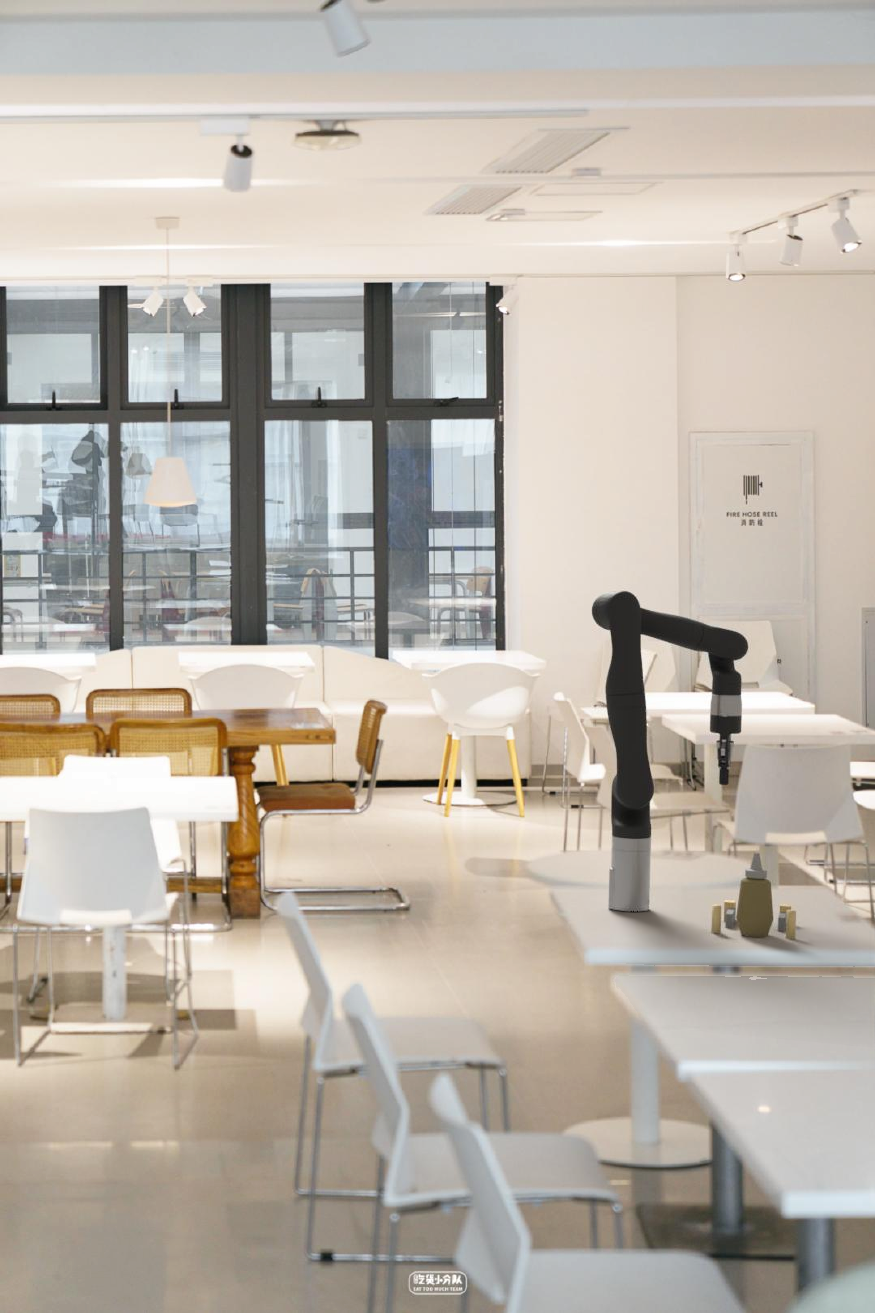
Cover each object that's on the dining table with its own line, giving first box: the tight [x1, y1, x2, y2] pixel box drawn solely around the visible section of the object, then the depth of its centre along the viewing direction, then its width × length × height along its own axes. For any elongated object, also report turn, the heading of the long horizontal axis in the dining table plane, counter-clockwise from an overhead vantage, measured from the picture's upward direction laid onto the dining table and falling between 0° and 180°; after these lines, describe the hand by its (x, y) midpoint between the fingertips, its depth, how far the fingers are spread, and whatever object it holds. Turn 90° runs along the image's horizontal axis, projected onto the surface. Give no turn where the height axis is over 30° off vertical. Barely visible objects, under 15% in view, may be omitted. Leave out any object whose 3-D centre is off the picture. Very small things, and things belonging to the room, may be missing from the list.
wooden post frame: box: [710, 899, 797, 940], centre depth 342 cm, size 18×18×6 cm
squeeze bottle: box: [735, 852, 774, 938], centre depth 334 cm, size 8×8×18 cm
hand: (723, 784), depth 372 cm, fingers closed
